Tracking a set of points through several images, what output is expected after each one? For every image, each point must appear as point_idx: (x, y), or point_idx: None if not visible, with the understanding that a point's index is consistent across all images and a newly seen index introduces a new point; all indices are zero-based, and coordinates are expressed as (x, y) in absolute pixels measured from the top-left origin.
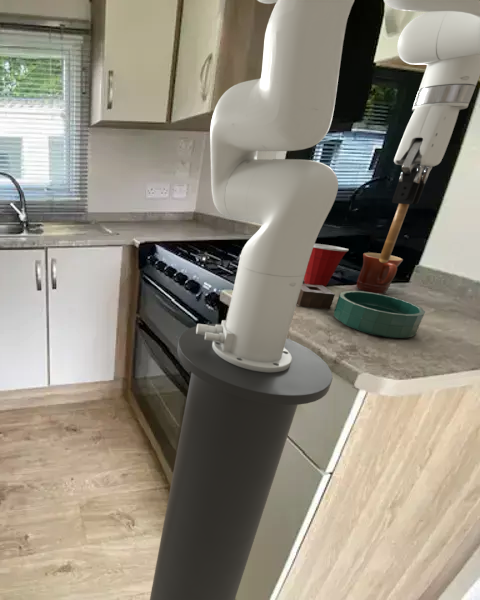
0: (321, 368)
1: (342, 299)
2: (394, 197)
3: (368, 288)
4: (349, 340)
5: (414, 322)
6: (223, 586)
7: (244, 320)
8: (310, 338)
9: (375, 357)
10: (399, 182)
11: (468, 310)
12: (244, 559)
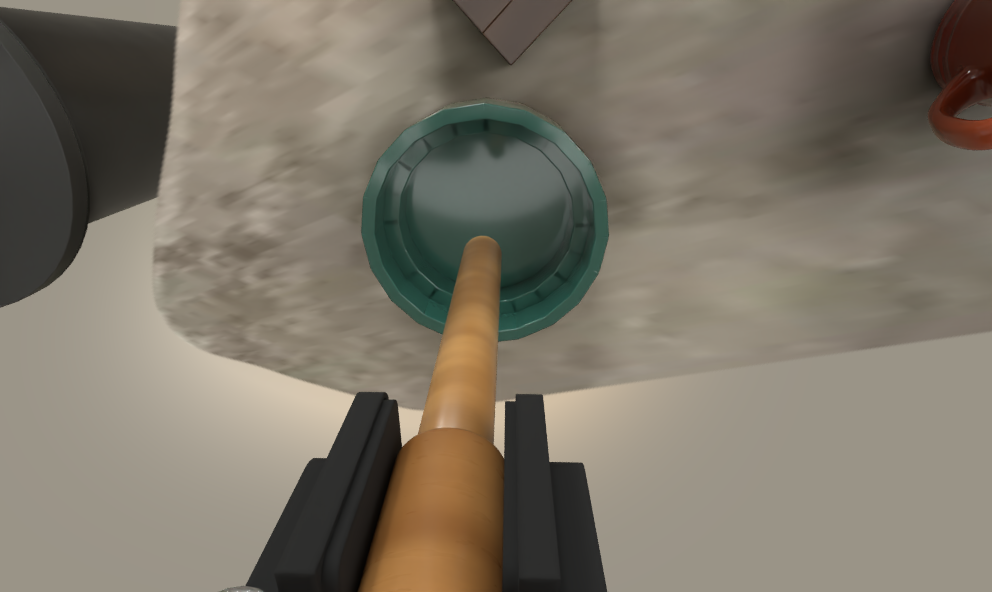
0: (23, 273)
1: (393, 143)
2: (344, 428)
3: (939, 43)
4: (295, 224)
5: None
6: None
7: None
8: (189, 160)
9: (260, 296)
10: (276, 578)
11: (965, 325)
12: None
